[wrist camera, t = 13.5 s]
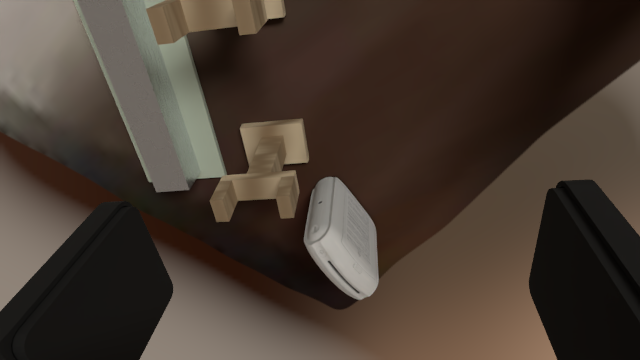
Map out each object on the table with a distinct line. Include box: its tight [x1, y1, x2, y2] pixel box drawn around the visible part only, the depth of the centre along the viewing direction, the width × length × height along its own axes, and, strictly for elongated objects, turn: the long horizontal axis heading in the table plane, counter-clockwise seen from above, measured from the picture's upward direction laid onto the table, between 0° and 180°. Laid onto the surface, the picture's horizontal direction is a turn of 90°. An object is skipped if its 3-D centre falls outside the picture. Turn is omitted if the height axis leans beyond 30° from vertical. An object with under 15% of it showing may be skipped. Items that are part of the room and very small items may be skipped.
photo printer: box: [304, 177, 379, 300], centre depth 47 cm, size 10×4×12 cm, turn 36°
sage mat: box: [73, 0, 227, 182], centre depth 44 cm, size 10×24×1 cm, turn 7°
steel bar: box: [77, 0, 201, 192], centre depth 42 cm, size 4×22×4 cm, turn 7°
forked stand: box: [146, 0, 309, 222], centre depth 38 cm, size 7×21×13 cm, turn 7°
